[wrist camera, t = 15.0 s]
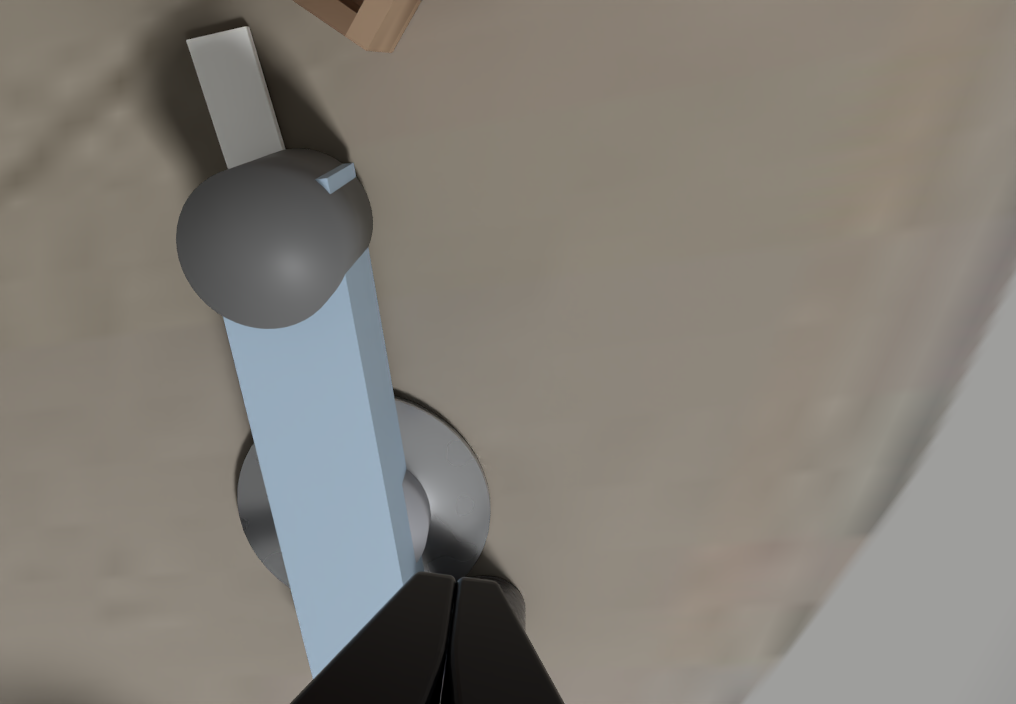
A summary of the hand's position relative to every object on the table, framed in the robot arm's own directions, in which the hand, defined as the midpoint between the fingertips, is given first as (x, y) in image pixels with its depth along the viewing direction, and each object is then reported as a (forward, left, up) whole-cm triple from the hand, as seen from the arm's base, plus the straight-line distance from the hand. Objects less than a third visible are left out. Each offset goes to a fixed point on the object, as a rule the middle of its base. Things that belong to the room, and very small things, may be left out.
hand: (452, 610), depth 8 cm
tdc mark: (+1, +6, -10) cm, 12 cm away
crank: (-4, +1, -9) cm, 10 cm away
